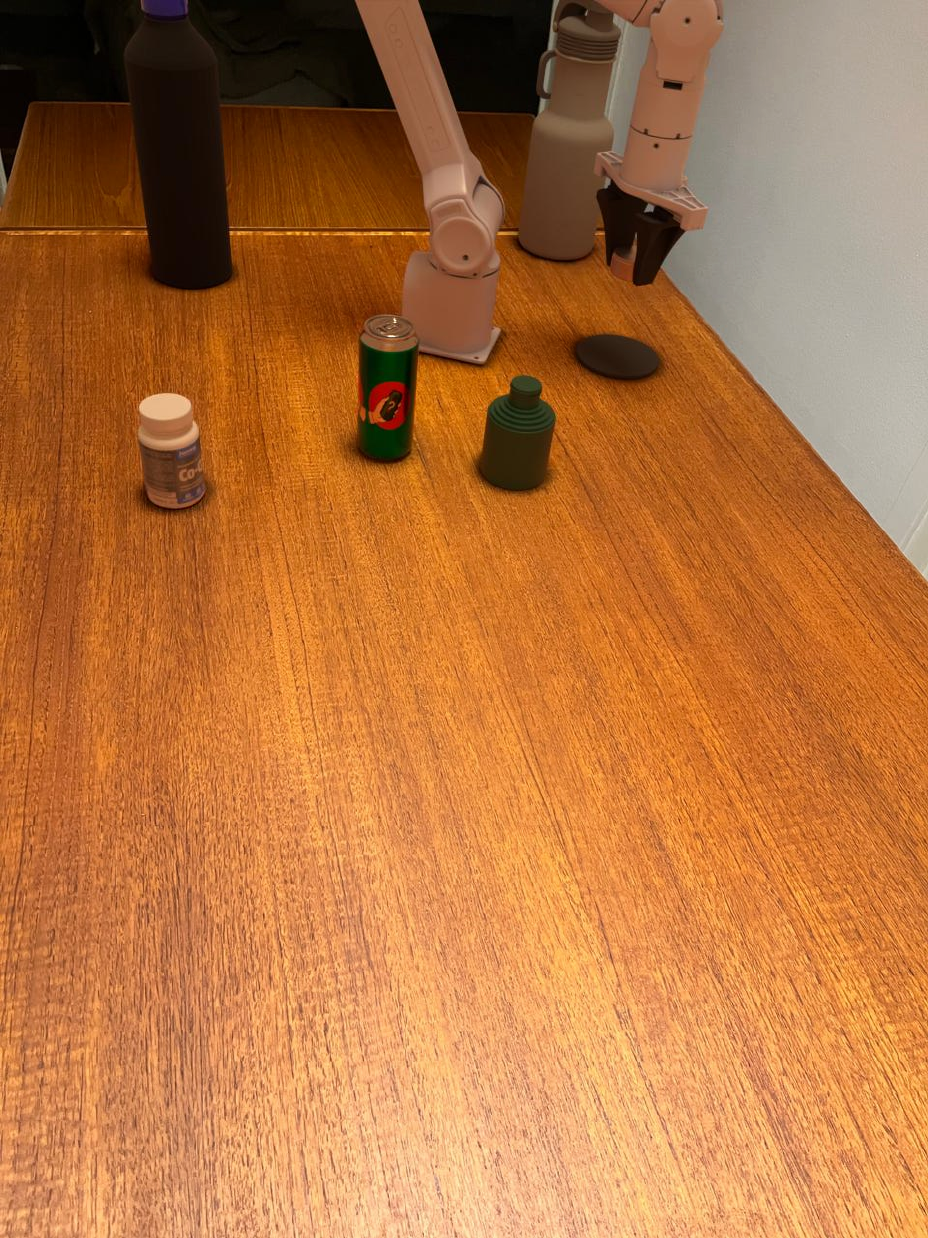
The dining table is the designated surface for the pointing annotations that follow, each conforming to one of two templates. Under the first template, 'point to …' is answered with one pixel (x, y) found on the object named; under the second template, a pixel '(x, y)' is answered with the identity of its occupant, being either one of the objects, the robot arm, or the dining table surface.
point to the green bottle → (518, 436)
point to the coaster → (617, 356)
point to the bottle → (179, 147)
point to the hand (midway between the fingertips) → (629, 274)
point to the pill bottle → (170, 451)
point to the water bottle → (570, 134)
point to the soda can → (387, 386)
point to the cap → (623, 262)
